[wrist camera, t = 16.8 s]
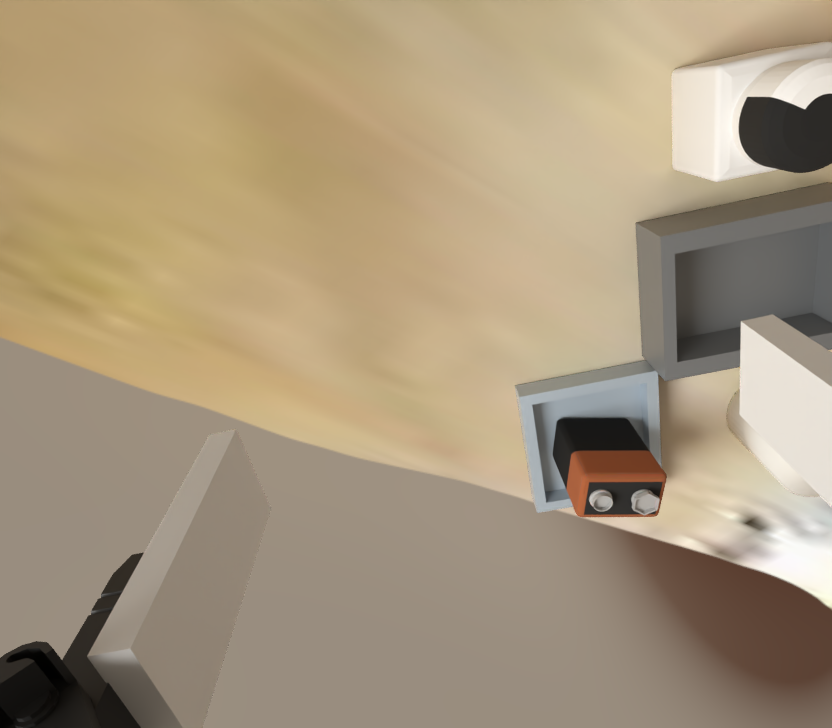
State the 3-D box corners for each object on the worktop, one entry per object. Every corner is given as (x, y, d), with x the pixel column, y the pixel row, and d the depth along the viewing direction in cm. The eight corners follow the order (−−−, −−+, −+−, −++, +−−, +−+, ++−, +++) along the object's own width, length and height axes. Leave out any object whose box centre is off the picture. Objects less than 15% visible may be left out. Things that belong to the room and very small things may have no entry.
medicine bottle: (764, 151, 45) (880, 170, 34) (670, 170, 45) (755, 195, 34) (770, 47, 42) (899, 31, 31) (669, 69, 42) (761, 61, 31)
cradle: (635, 222, 47) (660, 236, 42) (827, 182, 46) (874, 192, 41) (642, 360, 52) (665, 386, 47) (815, 327, 51) (855, 350, 46)
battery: (621, 455, 55) (664, 526, 46) (550, 455, 55) (579, 527, 46) (629, 416, 54) (674, 481, 45) (555, 416, 53) (586, 482, 44)
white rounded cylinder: (727, 378, 53) (778, 424, 46) (817, 361, 52) (884, 405, 45) (725, 451, 56) (773, 504, 49) (810, 435, 56) (871, 487, 48)
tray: (515, 385, 53) (519, 397, 51) (648, 359, 52) (658, 370, 50) (532, 498, 58) (537, 512, 56) (653, 476, 57) (662, 490, 55)
